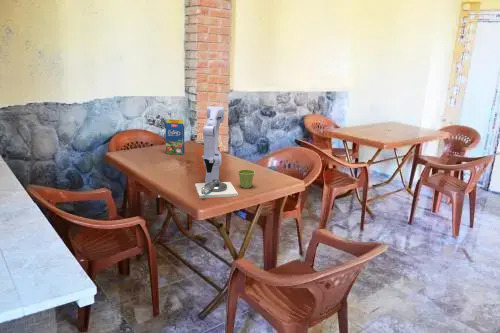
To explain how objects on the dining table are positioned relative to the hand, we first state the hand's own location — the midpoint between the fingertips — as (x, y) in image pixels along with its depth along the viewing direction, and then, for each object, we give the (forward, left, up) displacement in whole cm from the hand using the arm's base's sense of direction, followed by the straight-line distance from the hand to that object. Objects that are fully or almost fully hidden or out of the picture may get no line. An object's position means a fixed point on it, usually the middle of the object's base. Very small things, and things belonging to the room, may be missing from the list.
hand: (209, 172), depth 221 cm
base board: (+4, +3, -9) cm, 11 cm away
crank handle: (+8, 0, -8) cm, 11 cm away
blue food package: (-83, -12, -10) cm, 84 cm away
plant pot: (-1, +21, -10) cm, 23 cm away
